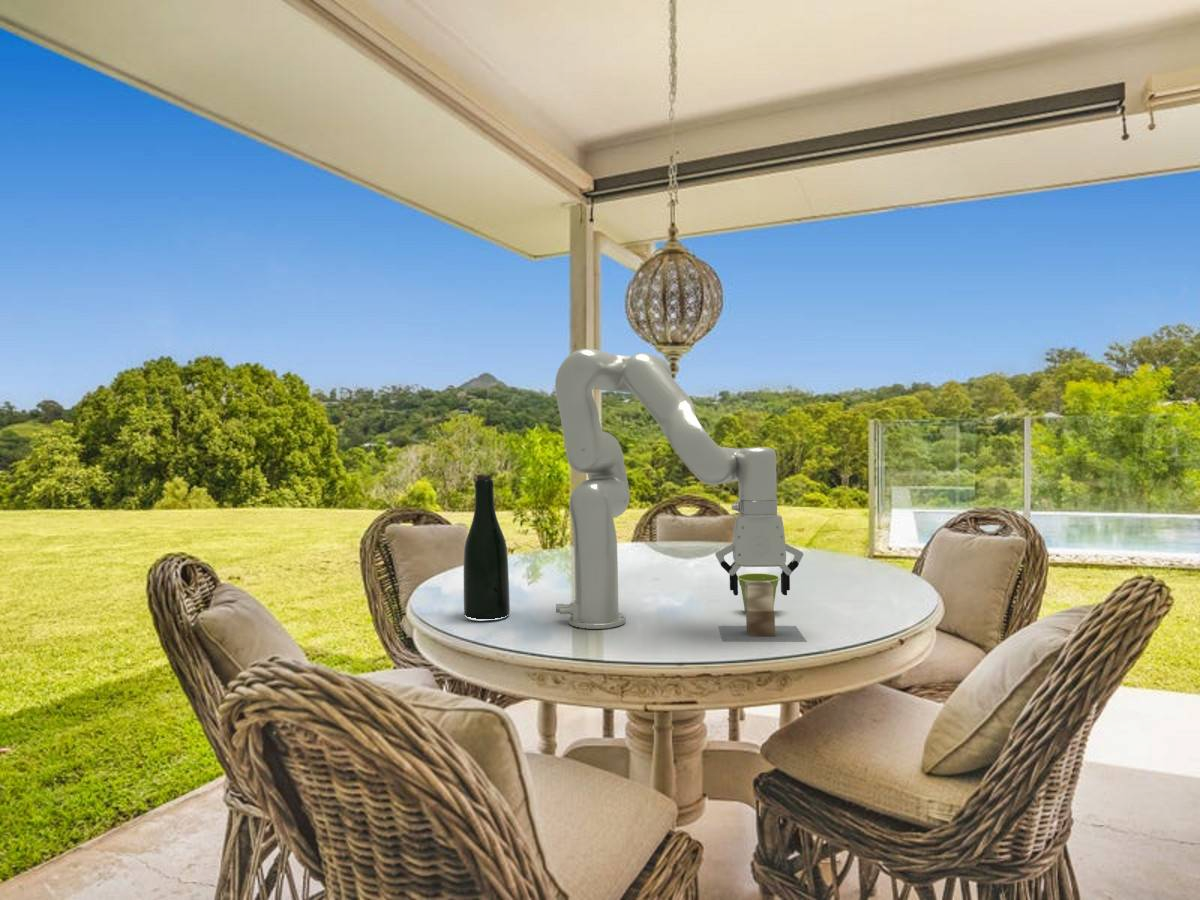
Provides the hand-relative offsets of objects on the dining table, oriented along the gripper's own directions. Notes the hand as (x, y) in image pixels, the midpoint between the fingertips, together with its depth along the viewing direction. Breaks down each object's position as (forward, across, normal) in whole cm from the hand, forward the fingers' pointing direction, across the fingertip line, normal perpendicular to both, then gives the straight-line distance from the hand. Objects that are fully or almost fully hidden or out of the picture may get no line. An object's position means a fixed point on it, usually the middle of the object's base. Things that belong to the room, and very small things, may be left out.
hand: (759, 594), depth 145 cm
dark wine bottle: (+9, -60, +16) cm, 63 cm away
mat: (+8, 0, 0) cm, 8 cm away
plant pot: (+9, +2, +18) cm, 20 cm away
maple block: (+3, 0, 0) cm, 3 cm away
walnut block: (+8, 0, 0) cm, 8 cm away
